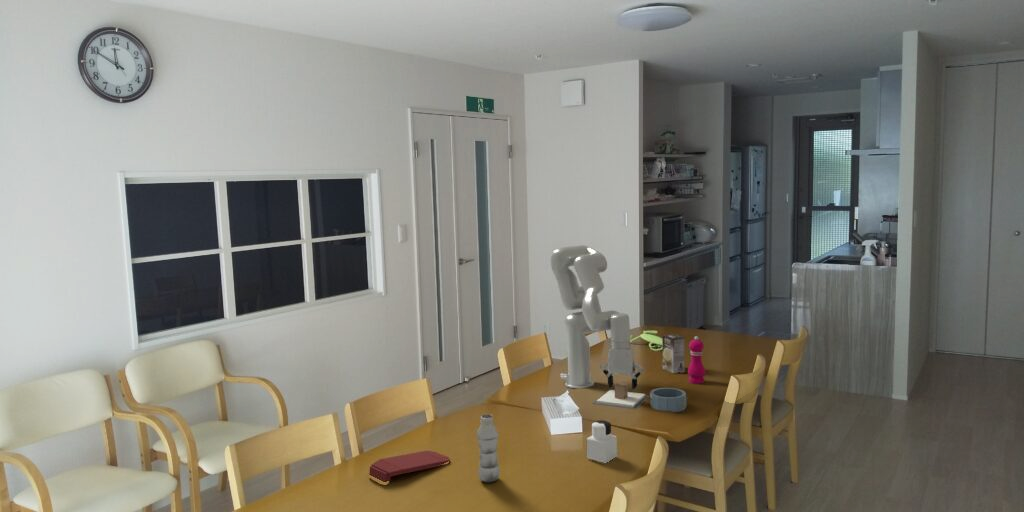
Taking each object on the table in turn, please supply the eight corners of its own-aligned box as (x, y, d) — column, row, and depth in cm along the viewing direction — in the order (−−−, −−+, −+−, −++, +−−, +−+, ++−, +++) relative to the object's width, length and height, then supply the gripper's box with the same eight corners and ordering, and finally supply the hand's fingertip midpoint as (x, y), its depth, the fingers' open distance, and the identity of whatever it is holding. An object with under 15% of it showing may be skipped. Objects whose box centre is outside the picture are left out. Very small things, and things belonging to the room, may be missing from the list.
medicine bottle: (598, 452, 236) (597, 417, 235) (617, 457, 231) (616, 421, 230) (586, 459, 230) (585, 423, 229) (605, 464, 226) (604, 427, 225)
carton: (428, 464, 241) (365, 477, 223) (429, 449, 241) (366, 461, 223) (452, 474, 233) (388, 488, 215) (453, 459, 233) (389, 471, 215)
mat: (591, 404, 284) (591, 403, 284) (608, 391, 299) (608, 390, 299) (635, 410, 275) (635, 409, 275) (650, 396, 291) (650, 395, 291)
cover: (596, 403, 284) (596, 388, 284) (610, 392, 297) (609, 378, 297) (633, 407, 277) (632, 392, 276) (645, 396, 290) (645, 381, 290)
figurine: (649, 337, 394) (649, 327, 393) (683, 347, 370) (683, 336, 370) (622, 342, 385) (622, 332, 384) (655, 352, 362) (655, 341, 361)
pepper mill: (705, 384, 305) (705, 338, 302) (688, 384, 306) (687, 338, 304) (704, 379, 312) (704, 334, 309) (687, 379, 313) (687, 334, 311)
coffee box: (661, 369, 331) (661, 334, 329) (673, 367, 333) (673, 333, 331) (673, 373, 322) (673, 338, 320) (685, 371, 325) (685, 337, 323)
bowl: (646, 409, 276) (646, 395, 275) (656, 399, 287) (656, 386, 287) (680, 414, 269) (680, 399, 269) (689, 403, 281) (689, 389, 280)
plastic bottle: (499, 475, 221) (497, 412, 219) (500, 484, 214) (497, 419, 212) (478, 476, 221) (476, 413, 219) (478, 485, 214) (475, 420, 212)
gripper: (596, 345, 285) (598, 388, 287) (638, 348, 277) (640, 391, 278) (603, 341, 292) (605, 383, 293) (644, 344, 284) (646, 386, 285)
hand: (622, 387), depth 286 cm, fingers open, 9 cm apart
